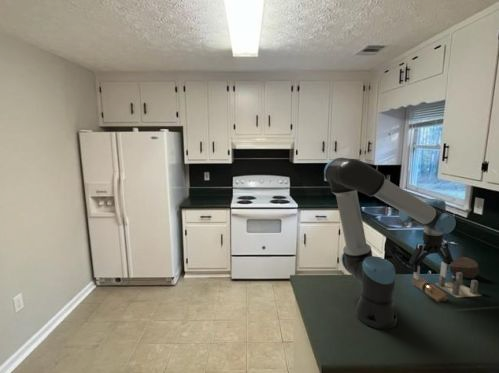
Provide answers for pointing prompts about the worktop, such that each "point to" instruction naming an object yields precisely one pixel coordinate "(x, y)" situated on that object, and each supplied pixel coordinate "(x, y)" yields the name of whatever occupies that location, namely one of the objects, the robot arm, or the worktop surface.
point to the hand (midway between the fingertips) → (429, 277)
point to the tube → (429, 289)
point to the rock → (464, 267)
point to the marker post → (452, 279)
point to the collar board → (458, 286)
